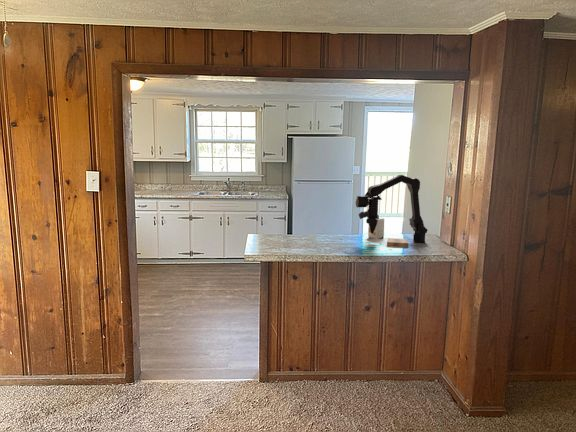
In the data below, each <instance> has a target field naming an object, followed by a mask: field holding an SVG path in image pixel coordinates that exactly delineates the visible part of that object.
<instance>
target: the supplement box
mask: <svg viewBox="0 0 576 432" xmlns="http://www.w3.org/2000/svg"><path fill="white" fill-rule="evenodd" d="M377 220H378V222H377V225H376V227H377V228H376V236H375V235H368V234H367V236H368V238H372V239H375V240H377V239H381V238H382V237H383V238H384V236H385V218H383V217H379V219H377ZM369 227H370V225H369V224H368V228H369Z"/></svg>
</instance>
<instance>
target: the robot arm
mask: <svg viewBox="0 0 576 432" xmlns="http://www.w3.org/2000/svg"><path fill="white" fill-rule="evenodd" d="M400 183H403V184H405V185H406V186H407V189H408V191H409V193H410V204H411V214H412V215H411V218H409V219H408V220H409V226H410V228H412V230H413V232H414V233H413V234H412V235H413V236H412V237H413V239H412V241H413V243H420V244H421V243H422V244H425V243H426V234H427V233H428V229H427V228H426V226H425V224H424V220H423V218H422V217H421V210H420V209H421V207H420V200H419V192H420V189H421V181H420V179H418V178H416V177H409V176H405V175H404V174H398V175H396V176H394V177H392V178H391V179H388V180H387V181H384V182H381V183H379V184H374V185H371V186H369V187H368V189H367V192H366V193H365V194H364V195H363V196H362V195H361V196H360V195H357V196H356V199H355V207H356V208H367V207H368V208H367V210H366V211H360V212H359V213H358V217H359V219H360V220H363V219H364V218H366V224H368V226H369V225H370V230H371V233H373V232H374V230H375V227H376V225H377V222H378V220H377V219H379V218H380V216H379V201H381V200H382V197H380V195H381V194H382V193H383V192H384V191H385V190H387V189H390V188H391V187H394V186H395V185H397V184H400Z"/></svg>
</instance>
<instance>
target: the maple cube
mask: <svg viewBox="0 0 576 432" xmlns="http://www.w3.org/2000/svg"><path fill="white" fill-rule="evenodd" d="M376 228H377V227H375V230H374V232H373V233H371V230H370V227H369V226H368V231H367V236H368V235H375V236H376Z"/></svg>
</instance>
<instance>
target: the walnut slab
mask: <svg viewBox="0 0 576 432" xmlns="http://www.w3.org/2000/svg"><path fill="white" fill-rule="evenodd" d="M386 247H390V248H391V247H395V248H409V239H408V238H394V237H393V238H392V237H390V238H389V237H388V238H387V240H386Z"/></svg>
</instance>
